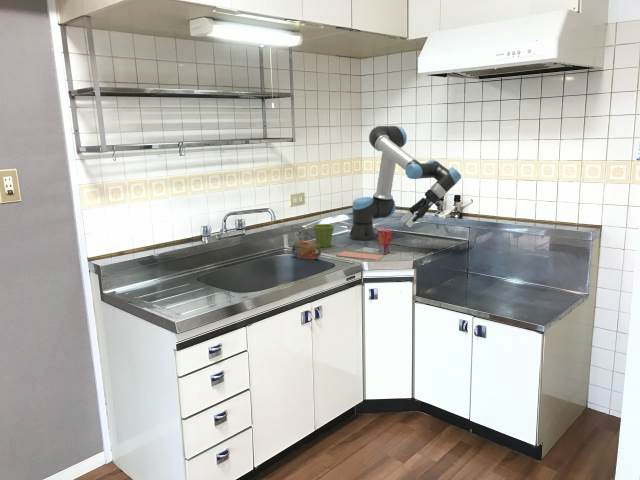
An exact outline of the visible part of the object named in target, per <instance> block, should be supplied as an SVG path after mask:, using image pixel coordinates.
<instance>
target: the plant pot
mask: <svg viewBox="0 0 640 480" xmlns="http://www.w3.org/2000/svg"><path fill="white" fill-rule="evenodd" d="M312 227H313V231H314V235H315V243H317V244H319V245H320V247H321V248H330V247H331V243H332V238H333V232H334V229H335V225H334V224H327V223H325V224H324V223H319V224H313V225H312Z"/></svg>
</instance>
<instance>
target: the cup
mask: <svg viewBox="0 0 640 480" xmlns="http://www.w3.org/2000/svg"><path fill="white" fill-rule="evenodd" d="M374 230H376V235H377V242H378V243H377V244H378V252H379V253H380V252H381V253H380V254H389V253H390V250H391V244H392V238H393V237H392V236H393V231H394V229H393V228H388V227H377V228H374ZM388 252H389V253H388Z"/></svg>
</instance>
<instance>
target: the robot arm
mask: <svg viewBox="0 0 640 480" xmlns="http://www.w3.org/2000/svg"><path fill="white" fill-rule="evenodd" d="M407 140H408V138H407V133H406V131H405V129H404V128H403V127H401V126H399V125H378V126H376V127H374V128H372V129H371V130H370V133H369V135H368V141H369V144H370V145H371V147H372V148H373V149H375V150H376V151H377V152H381V158H380V166H379V173H378V178H377V179H378V180H377V185H376V190H375V191H376V192H374V193H373V196H372V197H371V196H363V197H362V196H361V197H358V198H355V199H354V200H353V202H352V226H351V229H350V231H349V239H351V240H356V241H371V240H375V239H376V235H377V234H376V231H375V228H374V225H373V223H374V221H373V220H376V219H386V218H390V217H392V216H393V214H394V213H395V212H396V208H397V207H396V201H395V200H394V197H393V194H392V189H393V182H394V176H395V171H396V164H397V165H398V166H399V167H400V168H401V169H403V170H404V171H405V175H406V177H407V178H408V179H410V180H418V179H419V180H420V179H434V180H436V182H435V183H434V184H432V185H431V186H430V189H428V190H426V191H425V193H424V196H425V197H422V198H421V199H419V200H418V201H417V202H416V203H415V204H413V205H412V206H410V207H409V209H408V211H407V212H405V214H404V215H403V216H402V217H401V218H400V219H399V220H400V221H401V222H402V223H403V224H405V225H406V226H408V228H411V227H412V226H413V225H414V224H415V223H416V222H417V221H418V220H419V219H422V218H423V217H424V216H425V215H426V213H427V212H428V211H429V210H430V208H431V207H432V206H433V205H434V204H435V205H436V204H437V203H438V202H439V201H440V199H442V198H443V197H445V196H446V194H447V193H448V192H449V191H450V190H452V188H453V187H454V186H455V185H457V183H458V182H459V181H460V180H461V178H462V174H461V173H460V172H459V170H457V169H455V167H450V168H446V167H445V166H444V165H442V164H441V163H440V162H439V161H437V160H435V159H430V160H428V161H427V162H424V163H421V162H419V161H418V160H417V159H415V158H414V157H413V156H411V154H409V153H408V152H406V151H405V150H404V149H403V147H404V146H405V145H406V143H407ZM407 220H408V221H407Z"/></svg>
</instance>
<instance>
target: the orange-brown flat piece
mask: <svg viewBox="0 0 640 480" xmlns="http://www.w3.org/2000/svg"><path fill="white" fill-rule="evenodd" d="M291 249H292V254H293V255H294V256H295V258H297V259H302V260H304V259H305V260H310V261H311V260H316V259H318V258H320V256H321V254H322V247H320V245H319V244H317V243H316V241H304V240H303V241H302V240H299V241H296V242H294V243H293V245H292V248H291Z"/></svg>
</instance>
